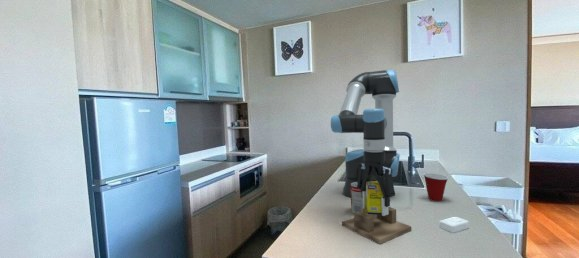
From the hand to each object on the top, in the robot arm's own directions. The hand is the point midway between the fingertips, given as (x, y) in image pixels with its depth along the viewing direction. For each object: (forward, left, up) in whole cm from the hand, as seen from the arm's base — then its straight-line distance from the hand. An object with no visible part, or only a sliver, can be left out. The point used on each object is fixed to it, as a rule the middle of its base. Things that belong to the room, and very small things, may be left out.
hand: (375, 211), depth 97 cm
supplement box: (0, 0, 0) cm, 0 cm away
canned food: (-15, +8, -7) cm, 18 cm away
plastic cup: (-4, +48, -7) cm, 49 cm away
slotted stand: (0, 0, -6) cm, 6 cm away
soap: (+16, +23, -7) cm, 29 cm away
